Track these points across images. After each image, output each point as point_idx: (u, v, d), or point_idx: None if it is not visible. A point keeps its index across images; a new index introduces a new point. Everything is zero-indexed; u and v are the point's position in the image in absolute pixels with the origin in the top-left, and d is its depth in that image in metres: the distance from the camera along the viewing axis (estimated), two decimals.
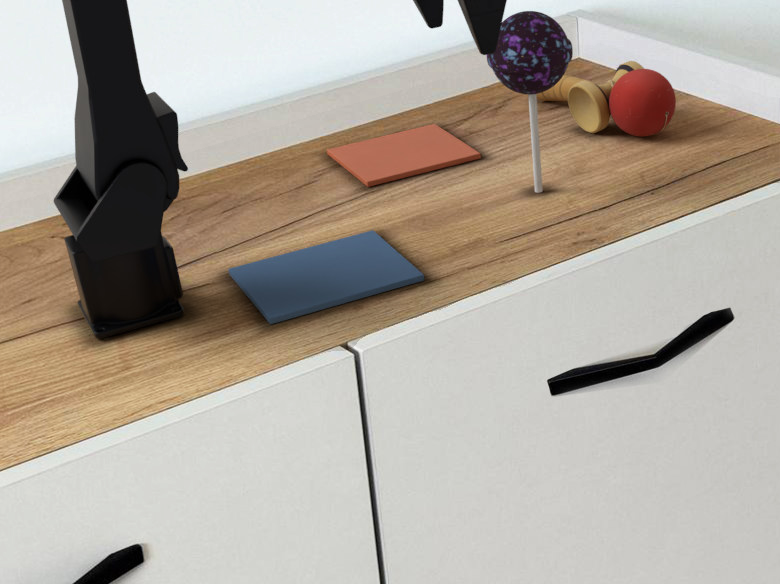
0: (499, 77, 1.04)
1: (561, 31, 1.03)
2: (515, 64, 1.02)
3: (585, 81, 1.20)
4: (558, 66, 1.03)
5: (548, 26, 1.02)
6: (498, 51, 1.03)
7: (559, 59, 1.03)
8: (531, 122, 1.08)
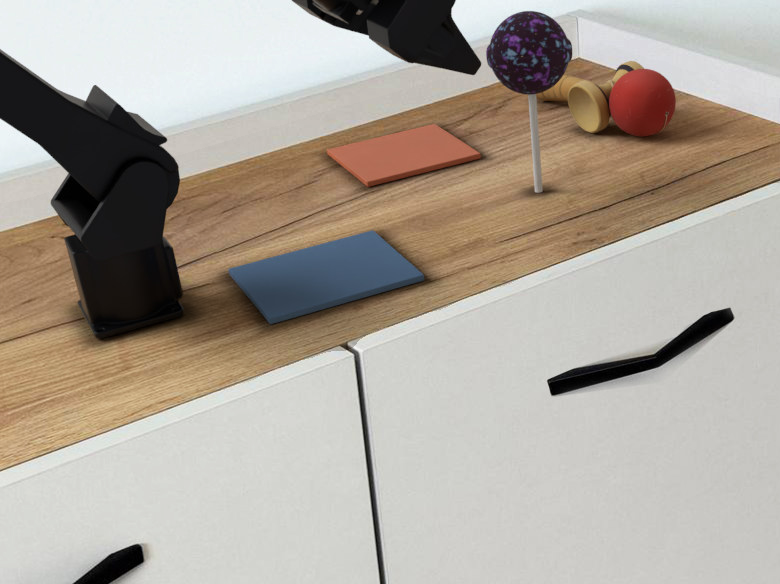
0: (499, 77, 1.04)
1: (561, 31, 1.03)
2: (515, 64, 1.02)
3: (585, 81, 1.20)
4: (558, 66, 1.03)
5: (548, 26, 1.02)
6: (498, 51, 1.03)
7: (559, 59, 1.03)
8: (531, 122, 1.08)
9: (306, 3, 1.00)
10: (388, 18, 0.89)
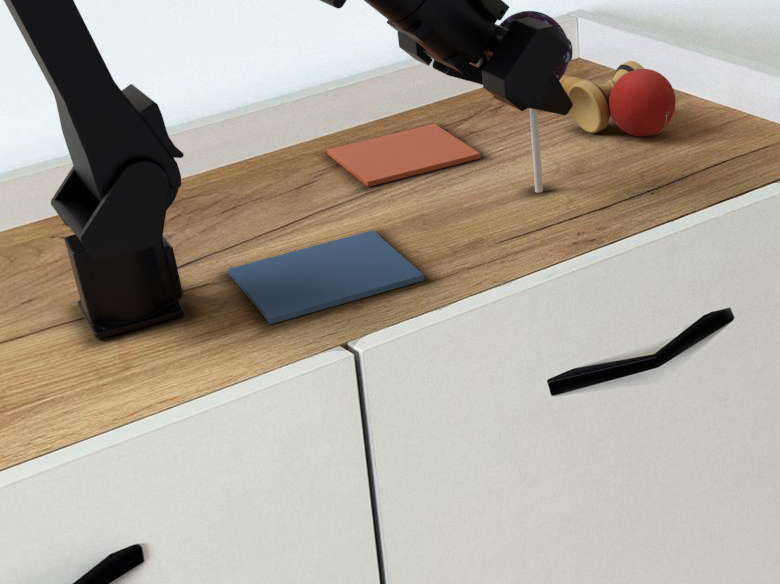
0: None
1: (561, 31, 1.03)
2: None
3: (585, 81, 1.20)
4: (558, 65, 1.03)
5: None
6: None
7: None
8: (531, 122, 1.08)
9: (415, 51, 1.06)
10: (504, 70, 0.95)
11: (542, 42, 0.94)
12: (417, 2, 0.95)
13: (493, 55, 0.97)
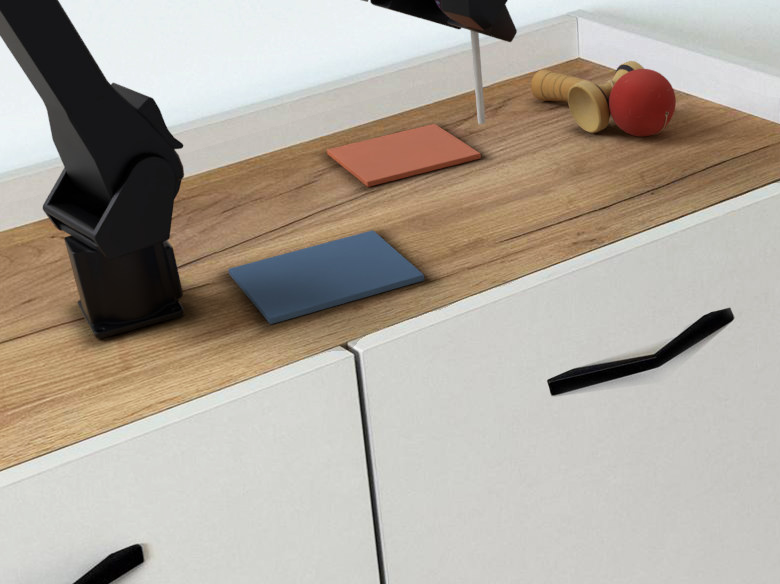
0: None
1: None
2: None
3: (585, 81, 1.20)
4: None
5: None
6: None
7: None
8: (473, 53, 1.10)
9: None
10: None
11: None
12: None
13: None
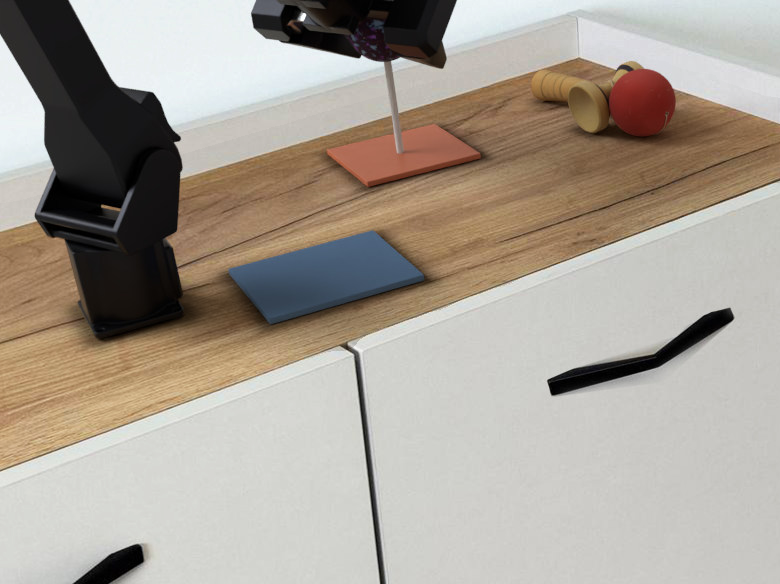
0: (364, 48, 1.13)
1: None
2: (383, 32, 1.11)
3: (585, 81, 1.20)
4: None
5: None
6: (363, 24, 1.11)
7: None
8: (389, 88, 1.17)
9: (279, 27, 1.11)
10: (412, 22, 1.04)
11: None
12: None
13: (390, 12, 1.05)
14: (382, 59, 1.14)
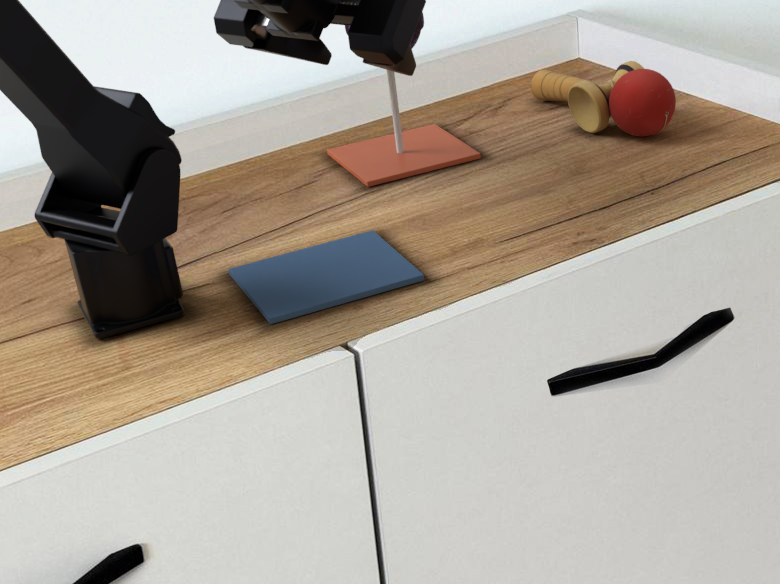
0: None
1: None
2: None
3: (585, 81, 1.20)
4: (420, 28, 1.13)
5: None
6: None
7: (420, 22, 1.13)
8: (391, 87, 1.17)
9: (243, 32, 1.08)
10: (377, 27, 1.01)
11: None
12: None
13: (356, 17, 1.02)
14: None
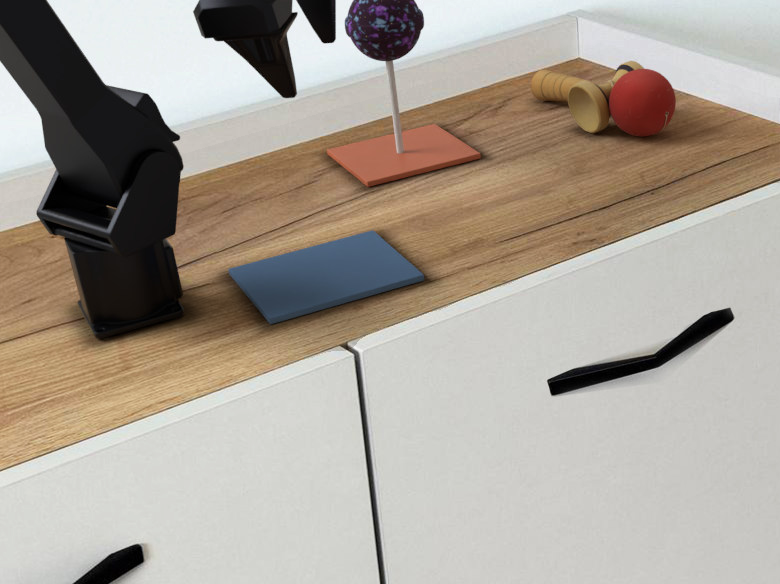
0: (366, 47, 1.13)
1: None
2: (386, 31, 1.11)
3: (585, 81, 1.20)
4: (420, 29, 1.13)
5: None
6: (365, 22, 1.11)
7: (420, 23, 1.13)
8: (391, 87, 1.17)
9: None
10: None
11: (248, 5, 0.91)
12: None
13: None
14: (384, 58, 1.14)
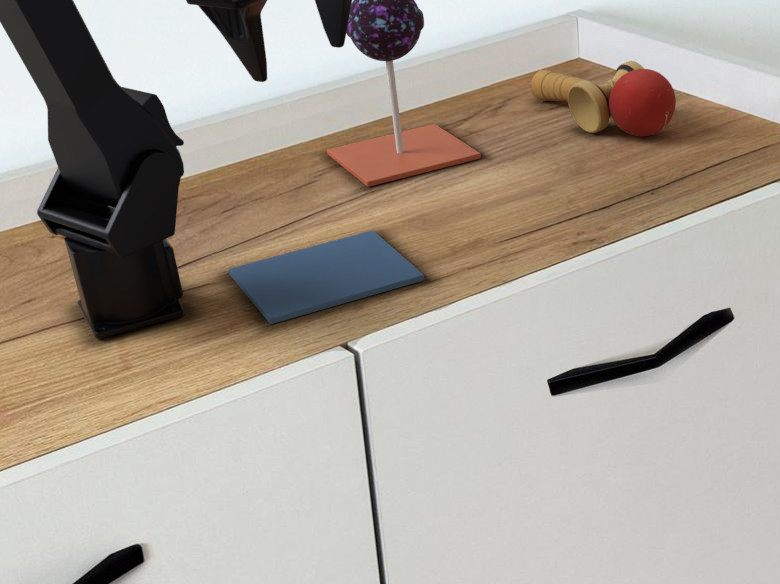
0: (366, 47, 1.13)
1: None
2: (386, 31, 1.11)
3: (585, 81, 1.20)
4: (420, 29, 1.13)
5: None
6: (365, 22, 1.11)
7: (420, 23, 1.13)
8: (391, 87, 1.17)
9: None
10: None
11: None
12: None
13: None
14: (384, 58, 1.14)
